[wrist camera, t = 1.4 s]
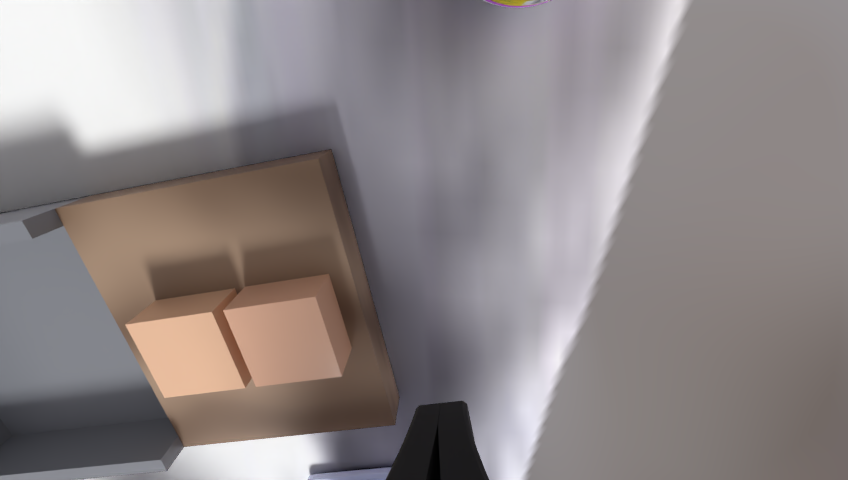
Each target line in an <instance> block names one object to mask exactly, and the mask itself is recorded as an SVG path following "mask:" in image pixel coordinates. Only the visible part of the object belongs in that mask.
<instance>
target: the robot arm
mask: <svg viewBox="0 0 848 480" xmlns="http://www.w3.org/2000/svg"><path fill="white" fill-rule="evenodd" d="M308 480H489V479H488V476H487V474H486V471H485V469H484V466H483V464H482V461H481V459H480V456H479V453H478V451H477V448H476V445H475V441H474V436H473V431H472V426H471V421H470V416H469V411H468V406H467V404H466V403H465V402H463V401H456V402H447V403H438V404H429V405H420V406H419V407H418V408H417V409H416V411H415V414H414V417H413V420H412V422H411V425H410V427H409V430H408V432H407V435H406V437H405V439H404V442H403V444H402V446H401V449H400V451H399V453H398V455H397V457H396V459H395V461H394V463H393V466H392V467H387V468H376V469H365V470H354V471H343V472H332V473H321V474H313V475H310V476H309V478H308Z"/></svg>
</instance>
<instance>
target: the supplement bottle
mask: <svg viewBox="0 0 848 480" xmlns="http://www.w3.org/2000/svg"><path fill="white" fill-rule="evenodd" d="M483 1H485V2H487V3H491V4H494V5H497V6H502V7H508V8H525V7H531V6H536V5H540V4H543V3H546V2H548V1H551V0H483Z"/></svg>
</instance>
